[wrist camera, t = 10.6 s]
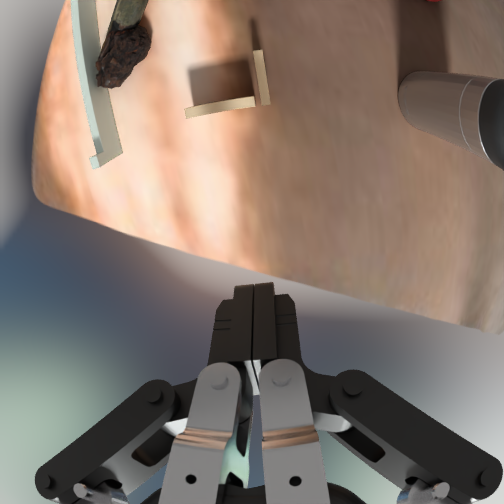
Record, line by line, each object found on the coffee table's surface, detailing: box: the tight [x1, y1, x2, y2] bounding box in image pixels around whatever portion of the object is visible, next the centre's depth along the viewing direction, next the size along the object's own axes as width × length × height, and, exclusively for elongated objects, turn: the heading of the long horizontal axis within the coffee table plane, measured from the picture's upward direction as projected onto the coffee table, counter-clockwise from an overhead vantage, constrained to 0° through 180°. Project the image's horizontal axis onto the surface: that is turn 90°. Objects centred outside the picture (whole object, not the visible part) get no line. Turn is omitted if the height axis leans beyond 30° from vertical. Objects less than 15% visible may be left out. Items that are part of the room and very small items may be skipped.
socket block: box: [184, 50, 271, 119], centre depth 24 cm, size 10×22×5 cm, turn 8°
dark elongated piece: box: [95, 0, 151, 89], centre depth 23 cm, size 18×7×6 cm, turn 165°
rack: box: [71, 0, 123, 169], centre depth 25 cm, size 1×28×7 cm, turn 9°
